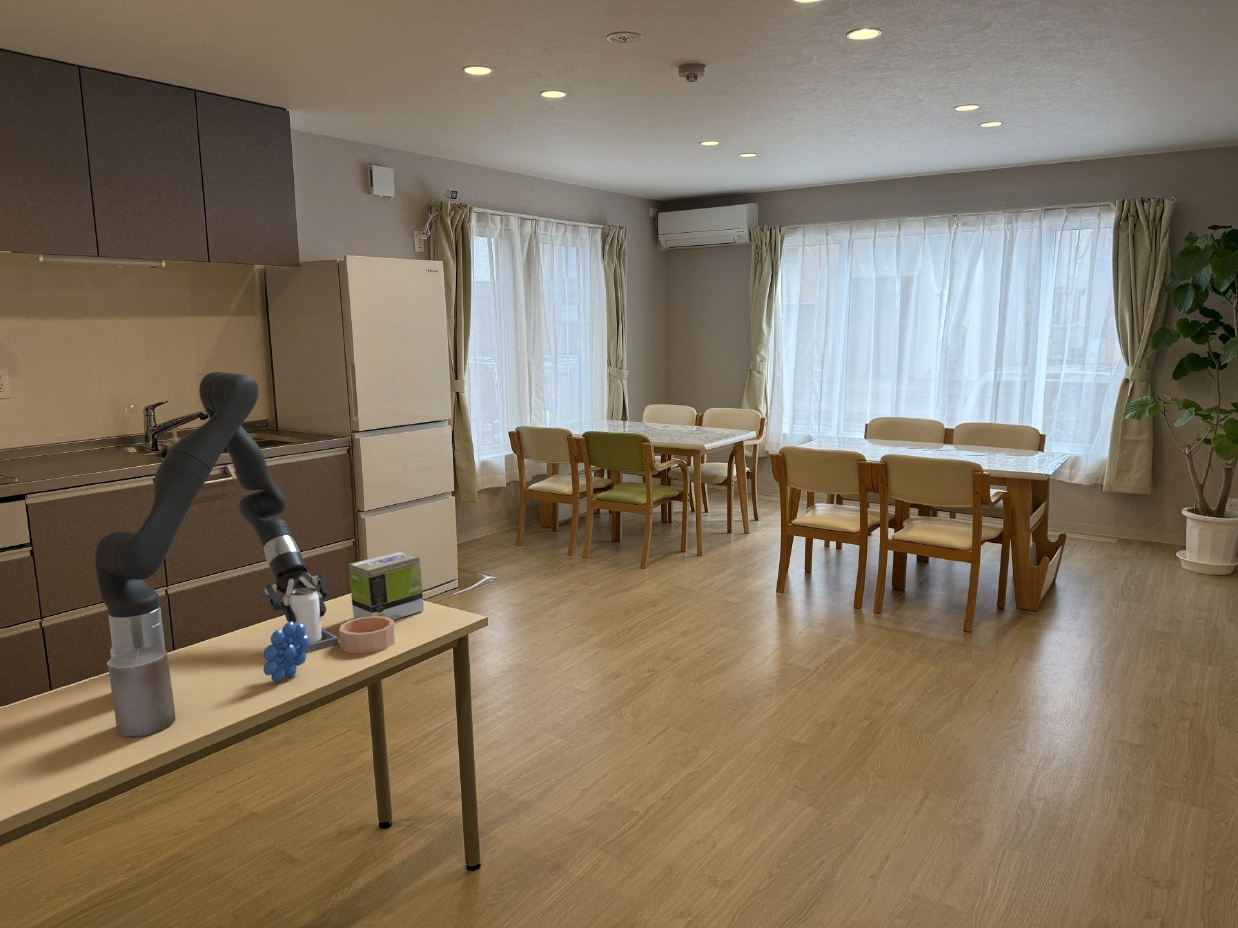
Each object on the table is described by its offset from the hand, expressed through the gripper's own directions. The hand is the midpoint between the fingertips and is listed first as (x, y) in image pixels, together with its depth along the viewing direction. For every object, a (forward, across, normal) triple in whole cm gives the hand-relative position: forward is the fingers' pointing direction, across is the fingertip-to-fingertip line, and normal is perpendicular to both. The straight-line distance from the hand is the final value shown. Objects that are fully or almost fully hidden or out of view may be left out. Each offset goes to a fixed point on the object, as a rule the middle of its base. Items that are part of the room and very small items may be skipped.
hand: (308, 618), depth 195 cm
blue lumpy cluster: (+15, -11, -5) cm, 19 cm away
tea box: (0, +23, +9) cm, 25 cm away
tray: (+4, 0, +6) cm, 7 cm away
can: (+3, 0, +6) cm, 6 cm away
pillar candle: (+17, -39, -7) cm, 43 cm away
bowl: (+11, +10, -1) cm, 15 cm away
